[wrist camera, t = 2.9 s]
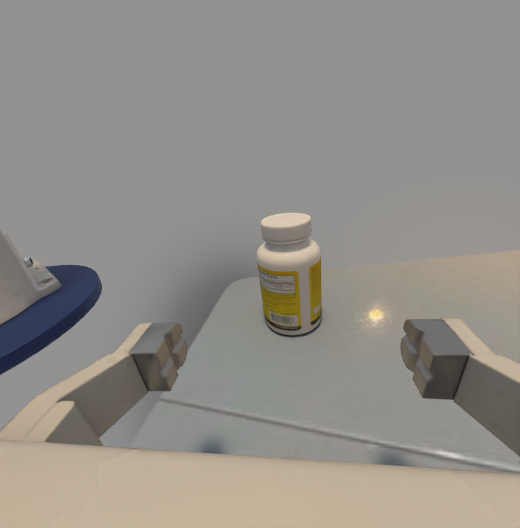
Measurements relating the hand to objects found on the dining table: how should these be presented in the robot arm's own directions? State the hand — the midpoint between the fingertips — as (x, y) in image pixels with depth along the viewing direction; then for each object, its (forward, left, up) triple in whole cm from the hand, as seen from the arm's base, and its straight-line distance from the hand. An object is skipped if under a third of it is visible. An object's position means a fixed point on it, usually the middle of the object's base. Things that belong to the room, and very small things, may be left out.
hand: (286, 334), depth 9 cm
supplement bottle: (-9, +8, -9) cm, 15 cm away
